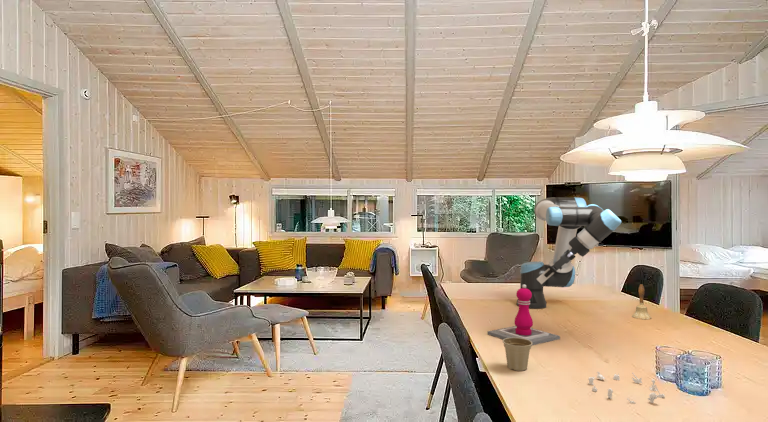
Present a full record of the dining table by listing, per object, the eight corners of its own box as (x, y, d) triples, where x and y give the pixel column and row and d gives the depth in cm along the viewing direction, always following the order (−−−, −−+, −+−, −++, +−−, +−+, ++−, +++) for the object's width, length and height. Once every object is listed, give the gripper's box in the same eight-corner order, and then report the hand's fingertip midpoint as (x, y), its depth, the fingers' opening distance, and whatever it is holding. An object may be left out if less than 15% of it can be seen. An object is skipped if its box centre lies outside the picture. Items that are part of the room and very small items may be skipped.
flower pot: (516, 374, 146) (516, 347, 145) (496, 365, 154) (496, 339, 154) (538, 370, 150) (538, 343, 150) (517, 361, 158) (517, 336, 158)
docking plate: (487, 334, 192) (487, 329, 192) (520, 327, 203) (520, 323, 203) (526, 346, 175) (526, 341, 175) (559, 338, 186) (560, 333, 186)
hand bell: (632, 318, 222) (633, 285, 222) (630, 314, 230) (631, 282, 229) (652, 320, 219) (653, 286, 219) (650, 316, 226) (650, 283, 226)
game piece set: (681, 405, 125) (681, 391, 125) (609, 407, 124) (609, 392, 124) (636, 378, 144) (636, 366, 144) (574, 379, 143) (574, 367, 143)
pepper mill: (530, 331, 192) (531, 283, 192) (534, 336, 185) (535, 286, 185) (512, 330, 193) (513, 282, 193) (516, 335, 186) (516, 285, 186)
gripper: (588, 253, 165) (543, 291, 172) (592, 247, 188) (553, 281, 195) (572, 237, 168) (529, 276, 175) (578, 234, 190) (540, 268, 197)
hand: (541, 279), depth 185 cm, fingers open, 13 cm apart
